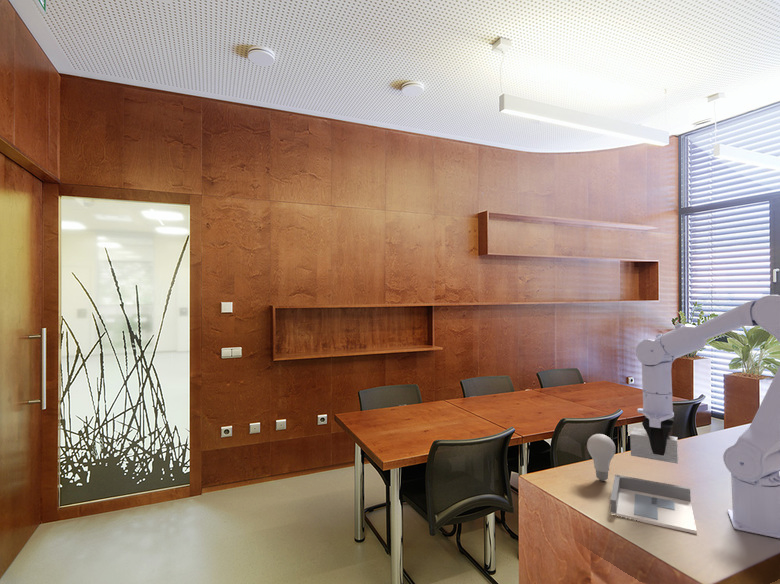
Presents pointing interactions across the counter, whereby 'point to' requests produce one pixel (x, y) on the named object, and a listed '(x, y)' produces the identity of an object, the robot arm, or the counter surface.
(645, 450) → the bracket
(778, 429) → the robot arm
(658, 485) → the white tray
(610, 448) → the lightbulb
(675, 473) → the counter surface
